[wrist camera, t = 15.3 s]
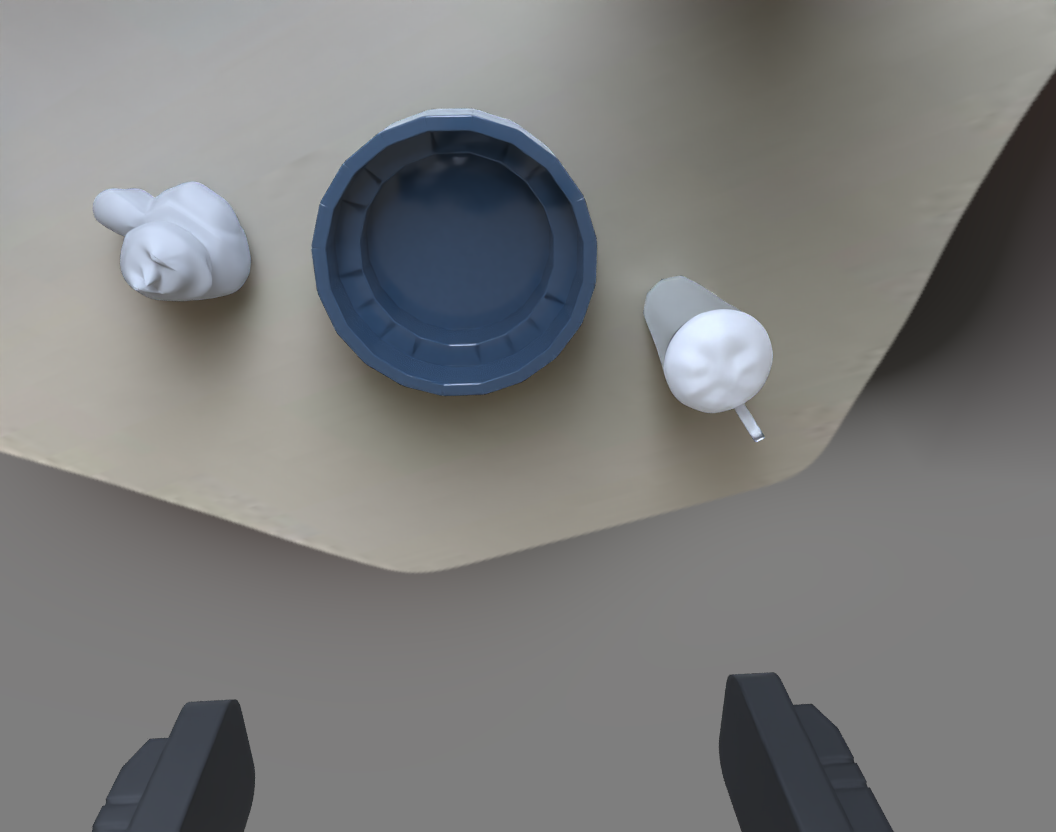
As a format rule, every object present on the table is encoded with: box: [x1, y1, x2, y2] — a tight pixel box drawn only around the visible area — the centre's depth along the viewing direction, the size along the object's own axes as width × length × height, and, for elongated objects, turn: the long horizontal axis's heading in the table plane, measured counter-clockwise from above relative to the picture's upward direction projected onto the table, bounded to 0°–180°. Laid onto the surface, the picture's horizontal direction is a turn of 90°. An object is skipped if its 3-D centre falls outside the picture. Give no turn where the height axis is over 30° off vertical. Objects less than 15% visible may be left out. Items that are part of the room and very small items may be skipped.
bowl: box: [311, 108, 597, 396], centre depth 35 cm, size 12×12×5 cm
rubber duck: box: [93, 182, 251, 301], centre depth 33 cm, size 5×7×8 cm
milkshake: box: [643, 275, 773, 442], centre depth 35 cm, size 4×5×10 cm
